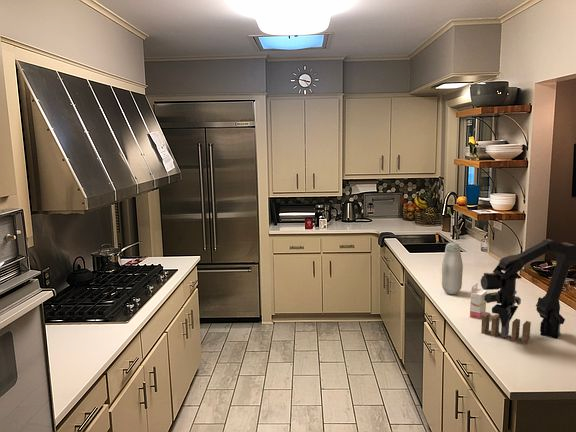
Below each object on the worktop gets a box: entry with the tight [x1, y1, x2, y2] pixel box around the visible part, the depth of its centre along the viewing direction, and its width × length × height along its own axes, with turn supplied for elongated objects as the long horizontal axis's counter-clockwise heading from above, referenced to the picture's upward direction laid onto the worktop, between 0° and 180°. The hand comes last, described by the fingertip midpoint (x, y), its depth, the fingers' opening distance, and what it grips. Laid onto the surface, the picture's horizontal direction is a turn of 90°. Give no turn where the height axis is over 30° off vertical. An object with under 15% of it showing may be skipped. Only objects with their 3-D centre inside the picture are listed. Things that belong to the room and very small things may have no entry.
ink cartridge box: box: [469, 282, 488, 320], centre depth 215 cm, size 9×5×15 cm, turn 141°
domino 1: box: [480, 311, 491, 335], centre depth 197 cm, size 2×5×8 cm, turn 139°
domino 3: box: [510, 318, 521, 343], centre depth 190 cm, size 2×5×8 cm, turn 139°
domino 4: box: [521, 320, 532, 345], centre depth 187 cm, size 2×5×8 cm, turn 139°
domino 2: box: [490, 313, 501, 338], centre depth 195 cm, size 2×5×8 cm, turn 139°
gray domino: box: [500, 318, 510, 338], centre depth 192 cm, size 2×5×8 cm, turn 139°
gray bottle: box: [441, 241, 464, 295], centre depth 246 cm, size 10×10×28 cm
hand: (505, 324), depth 192 cm, fingers closed on gray domino, 5 cm apart
